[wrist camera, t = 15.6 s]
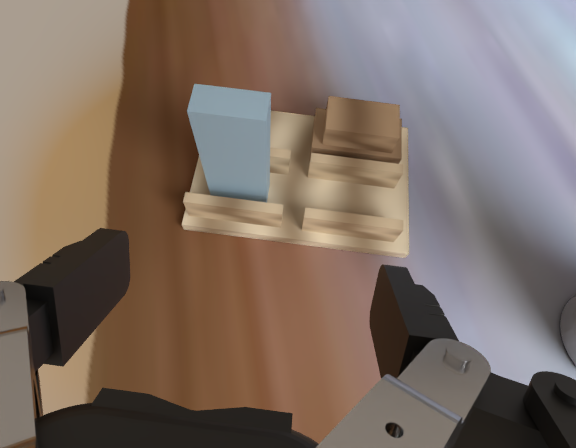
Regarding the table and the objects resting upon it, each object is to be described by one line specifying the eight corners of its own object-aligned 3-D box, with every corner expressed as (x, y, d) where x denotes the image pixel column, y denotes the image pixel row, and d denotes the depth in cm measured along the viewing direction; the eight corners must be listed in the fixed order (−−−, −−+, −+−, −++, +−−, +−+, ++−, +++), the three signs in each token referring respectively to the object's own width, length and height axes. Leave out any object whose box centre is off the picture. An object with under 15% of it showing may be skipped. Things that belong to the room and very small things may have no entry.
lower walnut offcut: (394, 133, 43) (401, 118, 41) (394, 172, 41) (401, 158, 39) (313, 123, 43) (316, 107, 41) (309, 161, 41) (311, 147, 39)
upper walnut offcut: (392, 121, 41) (399, 105, 38) (391, 153, 39) (399, 138, 37) (325, 112, 41) (328, 96, 38) (322, 144, 39) (325, 128, 37)
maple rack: (404, 134, 45) (417, 109, 41) (404, 257, 38) (420, 242, 35) (213, 110, 45) (208, 83, 41) (184, 229, 39) (174, 210, 35)
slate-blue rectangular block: (269, 183, 40) (270, 92, 28) (266, 205, 39) (266, 120, 27) (216, 177, 40) (194, 83, 28) (211, 198, 39) (186, 111, 27)
